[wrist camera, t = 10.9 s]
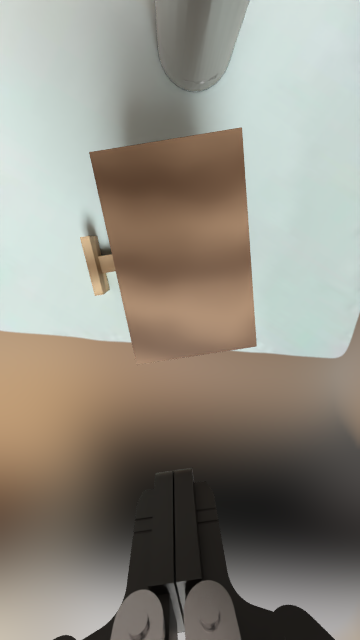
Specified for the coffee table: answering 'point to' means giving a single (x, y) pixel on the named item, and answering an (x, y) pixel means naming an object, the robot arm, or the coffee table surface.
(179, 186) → the wooden arch frame
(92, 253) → the drawer
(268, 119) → the coffee table surface
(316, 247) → the coffee table surface
